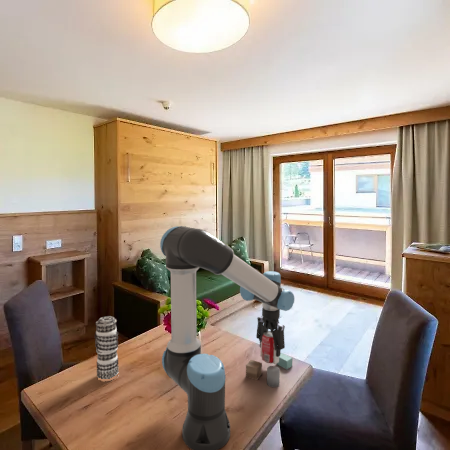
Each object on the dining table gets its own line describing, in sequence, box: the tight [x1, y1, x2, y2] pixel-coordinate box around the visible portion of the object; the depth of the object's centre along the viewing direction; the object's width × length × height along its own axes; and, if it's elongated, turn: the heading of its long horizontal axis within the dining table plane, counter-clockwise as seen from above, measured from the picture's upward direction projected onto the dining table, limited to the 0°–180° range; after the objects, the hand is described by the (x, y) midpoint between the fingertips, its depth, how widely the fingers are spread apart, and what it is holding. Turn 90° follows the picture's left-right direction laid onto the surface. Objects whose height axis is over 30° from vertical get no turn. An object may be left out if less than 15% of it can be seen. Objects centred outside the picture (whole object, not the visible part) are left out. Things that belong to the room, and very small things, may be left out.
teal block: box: [275, 352, 293, 370], centre depth 135 cm, size 4×6×4 cm, turn 42°
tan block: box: [245, 359, 263, 381], centre depth 127 cm, size 5×5×5 cm
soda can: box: [261, 330, 275, 364], centre depth 131 cm, size 7×7×12 cm
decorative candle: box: [94, 315, 120, 379], centre depth 125 cm, size 9×9×25 cm
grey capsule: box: [266, 365, 281, 388], centre depth 121 cm, size 5×5×6 cm
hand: (269, 359), depth 131 cm, fingers closed on soda can, 7 cm apart
